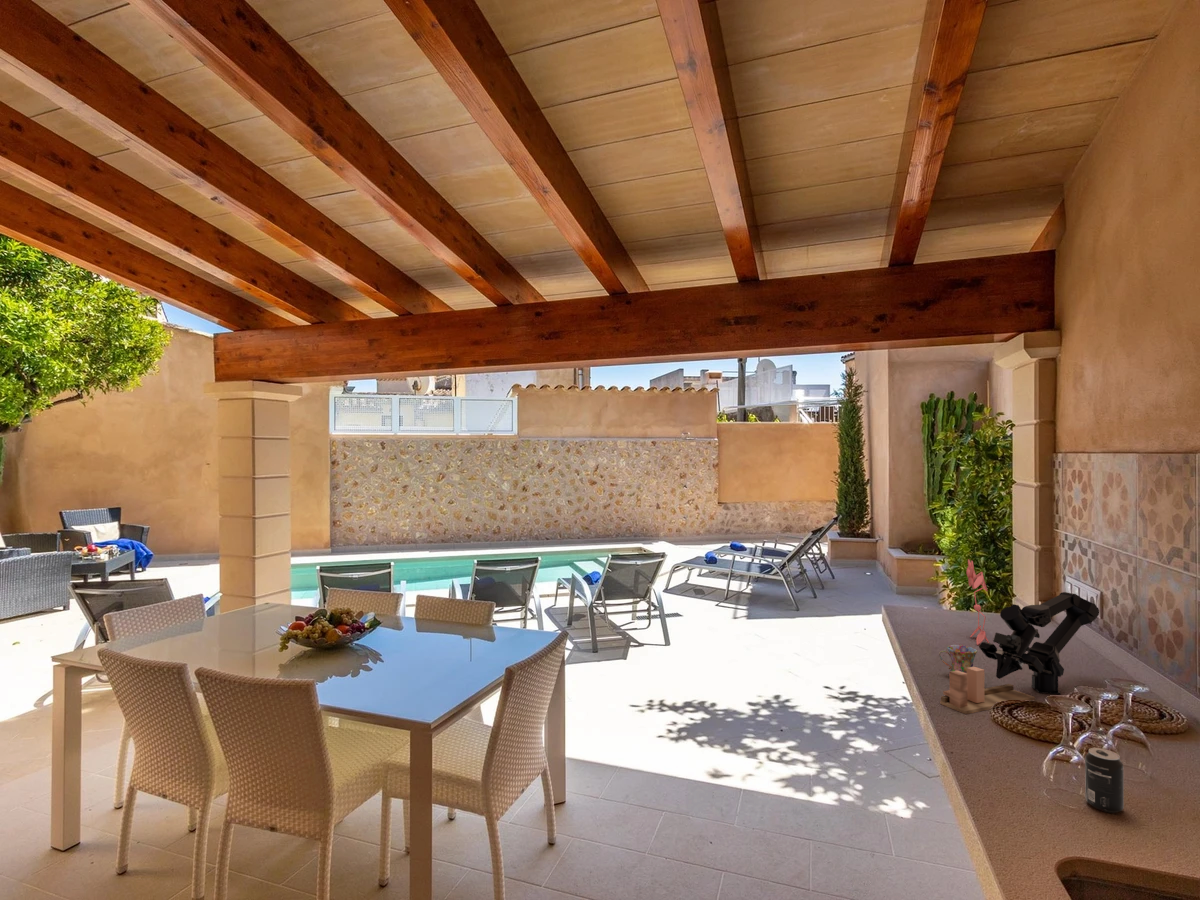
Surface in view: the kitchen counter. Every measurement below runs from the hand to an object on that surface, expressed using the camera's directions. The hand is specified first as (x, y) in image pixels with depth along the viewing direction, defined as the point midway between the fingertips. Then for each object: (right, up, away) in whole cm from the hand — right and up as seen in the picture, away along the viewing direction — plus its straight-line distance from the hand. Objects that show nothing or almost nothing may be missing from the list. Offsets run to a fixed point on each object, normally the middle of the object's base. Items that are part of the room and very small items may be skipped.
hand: (997, 677), depth 211 cm
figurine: (+30, -8, +68) cm, 75 cm away
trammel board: (-4, -7, -2) cm, 9 cm away
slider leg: (-10, -6, -3) cm, 12 cm away
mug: (-1, -8, +21) cm, 22 cm away
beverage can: (-16, -7, -65) cm, 67 cm away
